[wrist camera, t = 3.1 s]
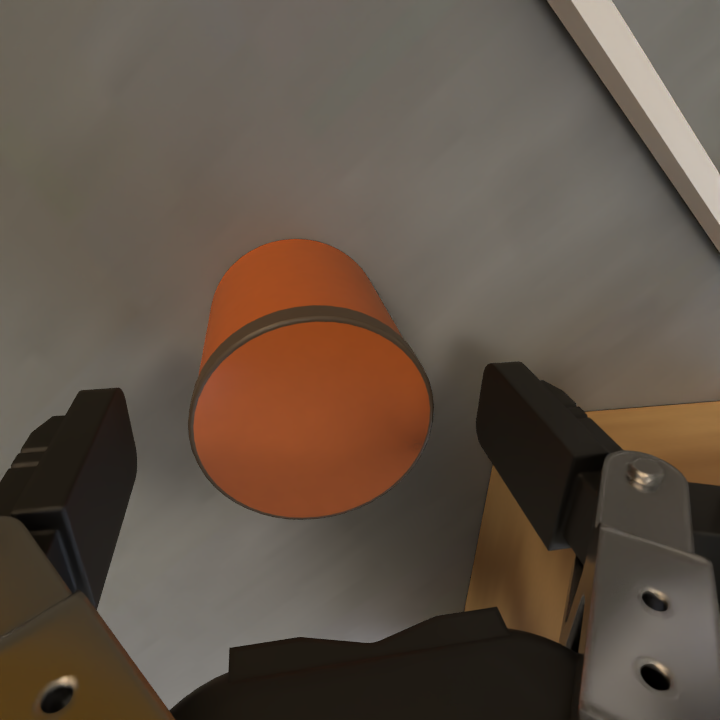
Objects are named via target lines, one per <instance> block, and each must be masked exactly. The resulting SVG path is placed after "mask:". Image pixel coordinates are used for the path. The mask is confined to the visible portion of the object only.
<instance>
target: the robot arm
mask: <svg viewBox="0 0 720 720" xmlns="http://www.w3.org/2000/svg"><path fill="white" fill-rule="evenodd" d="M476 431H477V436H478V440H479V443H480V445H481V447H482V448H483V450H484V451H485V453H486V455H487V456H488V458H489V459H490V461H491V462H492V464H493V466H494V467H495V469H496V470H497V472H498V473H499V475H500V476H501V478H502V480H503V481H504V483H505V484H506V486H507V487H508V489H509V490H510V492H511V494H512V495H513V497H514V498H515V500H516V501H517V503H518V505H519V506H520V508H521V509H522V511H523V512H524V514H525V515H526V517H527V519H528V520H529V522H530V523H531V525H532V526H533V528H534V530H535V531H536V533H537V534H538V536H539V537H540V539H541V540H542V542H543V544H544V545H545V547H546V548H547V550H548V551H553V550H560V549H567V548H572V550H573V551H574V553H575V554H576V555H575V558H574V562H573V565H572V569H571V575H570V581H569V586H568V592H567V598H566V604H565V610H564V616H563V621H562V627H561V633H560V639H559V643H557V642H555V641H553V640H550V639H548V638H546V637H543V636H540V635H536V634H533V633H530V632H526V631H521V630H517V629H510V628H507V626H506V624H505V622H504V620H503V618H502V616H501V614H500V612H499V610H498V607H491V608H485V609H478V610H472V611H465V612H459V613H452V614H446V615H439V616H435V617H433V618H430V619H428V620H426V621H423V622H421V623H419V624H417V625H414V626H412V627H410V628H408V629H405V630H403V631H401V632H399V633H396V634H394V635H392V636H390V637H387V638H385V639H383V640H380V641H378V642H374V643H360V642H349V641H338V640H326V639H315V638H304V637H297V638H291V639H285V640H278V641H272V642H265V643H259V644H252V645H246V646H239V647H233V648H230V650H229V672H228V673H226V674H223V675H221V676H219V677H216V678H214V679H213V680H211V681H209V682H207V683H206V684H204V685H202V686H200V687H199V688H197V689H196V690H194V691H193V692H192V693H190V694H189V695H187V696H186V697H185V698H183V699H182V700H181V701H180V702H179V703H177V704H176V705H175V706H174V707H173V708H172V709H170V710H168V709H167V707H166V706H165V704H164V703H163V702H162V700H161V699H160V698H159V696H158V695H157V693H156V692H155V691H154V689H153V688H152V687H151V685H150V684H149V682H148V681H147V680H146V678H145V677H144V675H143V674H142V673H141V671H140V670H139V669H138V667H137V666H136V664H135V663H134V662H133V660H132V659H131V658H130V656H129V655H128V653H127V652H126V651H125V649H124V648H123V646H122V645H121V644H120V642H119V641H118V640H117V638H116V637H115V635H114V634H113V633H112V631H111V630H110V629H109V627H108V626H107V624H106V623H105V622H104V620H103V619H102V617H101V616H100V615H99V613H98V612H97V607H98V604H99V600H100V597H101V594H102V590H103V587H104V583H105V580H106V577H107V573H108V570H109V567H110V563H111V560H112V556H113V553H114V550H115V546H116V543H117V539H118V536H119V533H120V529H121V526H122V522H123V519H124V516H125V512H126V509H127V505H128V502H129V499H130V495H131V492H132V489H133V485H134V482H135V478H136V472H137V453H136V447H135V442H134V437H133V433H132V428H131V423H130V419H129V414H128V410H127V405H126V400H125V396H124V393H123V391H122V390H121V389H120V388H109V389H94V390H81V391H79V393H78V394H77V396H76V398H75V399H74V401H73V403H72V405H71V406H70V408H69V410H68V412H67V413H66V415H65V416H53V417H51V418H50V419H49V420H47V421H46V422H45V423H43V424H42V425H41V426H39V427H38V428H37V429H36V430H34V431H33V432H32V433H31V434H30V436H29V437H28V439H27V441H26V442H25V444H24V445H23V447H22V449H21V453H20V454H18V455H17V456H16V458H15V460H14V461H13V463H12V464H11V469H8V471H7V472H6V474H5V475H4V477H3V478H2V480H1V482H0V720H720V486H717V485H709V484H701V483H693V482H687V480H686V478H685V477H684V476H683V474H682V473H681V472H680V471H679V470H678V469H676V468H675V467H674V466H673V465H671V464H669V463H668V462H666V461H664V460H662V459H660V458H658V457H655V456H653V455H650V454H647V453H643V452H638V451H628V450H623V449H622V448H621V447H620V446H619V445H618V444H617V443H616V442H615V441H614V440H613V439H612V438H611V437H610V436H609V435H608V434H607V433H606V432H605V431H603V430H602V429H601V428H600V427H599V426H598V425H597V424H596V423H595V422H594V421H593V420H592V419H591V418H590V417H589V418H588V417H587V414H586V413H585V412H584V411H583V410H582V409H581V408H580V407H577V406H576V403H575V402H574V401H573V400H572V399H571V398H570V397H569V396H568V395H567V394H566V393H565V392H563V391H562V390H560V389H558V388H556V387H555V386H553V385H551V384H549V383H547V382H545V381H544V380H541V381H540V380H539V379H538V378H537V377H536V376H535V375H534V374H533V373H532V372H531V371H530V370H529V369H528V368H527V367H526V366H525V365H524V364H523V363H522V362H504V363H490V364H488V365H487V366H486V367H485V369H484V373H483V379H482V385H481V392H480V398H479V405H478V411H477V418H476Z"/></svg>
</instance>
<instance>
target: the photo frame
mask: <svg viewBox="0 0 720 720" xmlns="http://www.w3.org/2000/svg"><path fill="white" fill-rule="evenodd" d="M547 1H548V3H549V4H550V6H551V7H552V9H553V10H554V12H555V13H556V14H557V16H558V17H559V19H560V20H561V22H562V23H563V25H564V26H565V28H566V29H567V31H568V32H569V33H570V35H571V36H572V38H573V39H574V41H575V42H576V44H577V45H578V47H579V48H580V50H581V51H582V52H583V54H584V55H585V57H586V58H587V60H588V61H589V63H590V64H591V66H592V67H593V68H594V70H595V71H596V73H597V74H598V76H599V77H600V79H601V80H602V82H603V83H604V85H605V86H606V87H607V89H608V90H609V92H610V93H611V95H612V96H613V98H614V99H615V101H616V102H617V103H618V105H619V106H620V108H621V109H622V111H623V112H624V114H625V115H626V117H627V118H628V120H629V121H630V122H631V124H632V125H633V127H634V128H635V130H636V131H637V133H638V134H639V136H640V137H641V138H642V140H643V141H644V143H645V144H646V146H647V147H648V149H649V150H650V152H651V153H652V155H653V156H654V157H655V159H656V160H657V162H658V163H659V165H660V166H661V168H662V169H663V171H664V172H665V174H666V175H667V176H668V178H669V179H670V181H671V182H672V184H673V185H674V187H675V188H676V190H677V191H678V192H679V194H680V195H681V197H682V198H683V200H684V201H685V203H686V204H687V206H688V207H689V209H690V210H691V211H692V213H693V214H694V216H695V217H696V219H697V220H698V222H699V223H700V225H701V226H702V227H703V229H704V230H705V232H706V233H707V235H708V236H709V238H710V239H711V241H712V242H713V244H714V245H715V246H716V248H717V249H718V251H719V252H720V174H719V172H718V171H717V169H716V168H715V166H714V164H713V163H712V161H711V160H710V158H709V156H708V155H707V153H706V151H705V150H704V148H703V147H702V145H701V143H700V142H699V140H698V139H697V137H696V135H695V134H694V132H693V131H692V129H691V127H690V126H689V124H688V122H687V121H686V119H685V118H684V116H683V114H682V113H681V111H680V110H679V108H678V106H677V105H676V103H675V101H674V100H673V98H672V97H671V95H670V93H669V92H668V90H667V89H666V87H665V85H664V84H663V82H662V81H661V79H660V77H659V76H658V74H657V72H656V71H655V69H654V68H653V66H652V64H651V63H650V61H649V60H648V58H647V56H646V55H645V53H644V51H643V50H642V48H641V47H640V45H639V43H638V42H637V40H636V39H635V37H634V35H633V34H632V32H631V30H630V29H629V27H628V26H627V24H626V22H625V21H624V19H623V18H622V16H621V14H620V13H619V11H618V10H617V8H616V6H615V5H614V3H613V1H612V0H547Z"/></svg>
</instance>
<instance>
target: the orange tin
mask: <svg viewBox="0 0 720 720" xmlns="http://www.w3.org/2000/svg"><path fill="white" fill-rule="evenodd" d="M433 412H434V403H433V394H432V390H431V386H430V382H429V379H428V377H427V375H426V373H425V370H424V368H423V366H422V365H421V363H420V361H419V360H418V358H417V356H416V355H415V353H414V352H413V350H412V349H411V347H410V346H409V345H408V344H407V343H406V341H405V340H404V339H403V337H402V335H401V334H400V332H399V330H398V328H397V327H396V325H395V323H394V322H393V320H392V318H391V316H390V315H389V313H388V311H387V309H386V308H385V306H384V304H383V303H382V301H381V299H380V297H379V296H378V294H377V292H376V291H375V289H374V287H373V285H372V284H371V282H370V280H369V279H368V277H367V276H366V274H365V273H364V271H363V270H362V269H361V268H360V266H359V265H358V264H357V263H356V262H355V261H354V260H352V259H351V258H350V257H349V256H348V255H346V254H344V253H343V252H341V251H340V250H338V249H336V248H334V247H332V246H330V245H327V244H324V243H321V242H317V241H312V240H305V239H288V240H280V241H275V242H271V243H268V244H265V245H262V246H260V247H258V248H256V249H254V250H252V251H250V252H248V253H247V254H246V255H244V256H243V257H241V258H240V259H239V260H238V261H237V262H235V263H234V264H233V265H232V266H231V267H230V269H229V270H228V271H227V272H226V273H225V275H224V276H223V278H222V280H221V281H220V283H219V285H218V287H217V289H216V292H215V294H214V298H213V301H212V306H211V311H210V316H209V322H208V327H207V333H206V338H205V343H204V349H203V354H202V360H201V365H200V371H199V376H198V379H197V381H196V383H195V387H194V391H193V395H192V399H191V404H190V409H189V419H188V430H189V440H190V444H191V448H192V452H193V454H194V456H195V459H196V461H197V463H198V465H199V467H200V468H201V470H202V472H203V473H204V475H205V476H206V477H207V479H208V480H209V481H210V482H211V483H212V485H213V486H214V487H215V488H217V489H218V490H219V491H220V492H221V493H222V494H223V495H225V496H226V497H228V498H229V499H231V500H232V501H233V502H235V503H237V504H239V505H241V506H243V507H245V508H247V509H249V510H252V511H255V512H257V513H260V514H264V515H268V516H272V517H277V518H284V519H298V520H305V519H319V518H325V517H332V516H335V515H339V514H343V513H347V512H349V511H352V510H355V509H358V508H360V507H362V506H364V505H366V504H368V503H371V502H372V501H374V500H376V499H377V498H379V497H381V496H382V495H384V494H385V493H387V492H388V491H389V490H391V489H392V488H393V487H395V486H396V485H397V484H398V483H399V482H400V481H401V480H402V479H403V478H404V477H405V476H406V475H407V474H408V473H409V471H410V470H411V469H412V468H413V467H414V465H415V464H416V462H417V461H418V459H419V458H420V456H421V454H422V452H423V450H424V448H425V446H426V444H427V441H428V438H429V435H430V432H431V427H432V422H433Z"/></svg>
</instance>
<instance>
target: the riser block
mask: <svg viewBox="0 0 720 720" xmlns="http://www.w3.org/2000/svg"><path fill="white" fill-rule="evenodd" d="M585 413H586V414H587V417H588V418H589V417H590V418H591V419H592V420H593V421H594V422H595V423H596V424H597V425H598V426H599V427H600V428H601V429H602V430H603V431H605V432H606V433H607V434H608V435H609V436H610V437H611V438H612V439H613V440H614V441H615V442H616V443H617V444H618V445H619V446H620V447H621V448H622V449H623V450H628V451H638V452H643V453H647V454H650V455H653V456H655V457H658V458H660V459H662V460H664V461H666V462H668V463H669V464H671V465H673V466H674V467H675V468H676V469H678V470H679V471H680V472H681V473H682V474H683V476H684V477H685V478H686V480H687V482H693V483H701V484H709V485H717V486H720V401H715V402H702V403H690V404H677V405H665V406H652V407H639V408H627V409H614V410H602V411H589V412H585ZM575 555H576V554H575V553H574V551H573V550H572V548H567V549H560V550H553V551H548V550H547V548H546V547H545V545H544V544H543V542H542V540H541V539H540V537H539V536H538V534H537V533H536V531H535V530H534V528H533V526H532V525H531V523H530V522H529V520H528V519H527V517H526V515H525V514H524V512H523V511H522V509H521V508H520V506H519V505H518V503H517V501H516V500H515V498H514V497H513V495H512V494H511V492H510V490H509V489H508V487H507V486H506V484H505V483H504V481H503V480H502V478H501V476H500V475H499V473H498V472H497V470H496V469H495V467H494V466H492V471H491V476H490V482H489V487H488V492H487V497H486V502H485V507H484V512H483V517H482V523H481V528H480V533H479V538H478V543H477V548H476V553H475V559H474V564H473V569H472V574H471V579H470V584H469V589H468V594H467V600H466V605H465V610H464V612H465V611H472V610H478V609H485V608H491V607H498V610H499V612H500V614H501V616H502V618H503V620H504V622H505V624H506V626H507V628H510V629H517V630H521V631H526V632H530V633H533V634H536V635H540V636H543V637H546V638H548V639H550V640H553V641H555V642H557V643H559V639H560V633H561V627H562V621H563V616H564V610H565V604H566V598H567V592H568V586H569V581H570V575H571V569H572V565H573V562H574V558H575Z"/></svg>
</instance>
